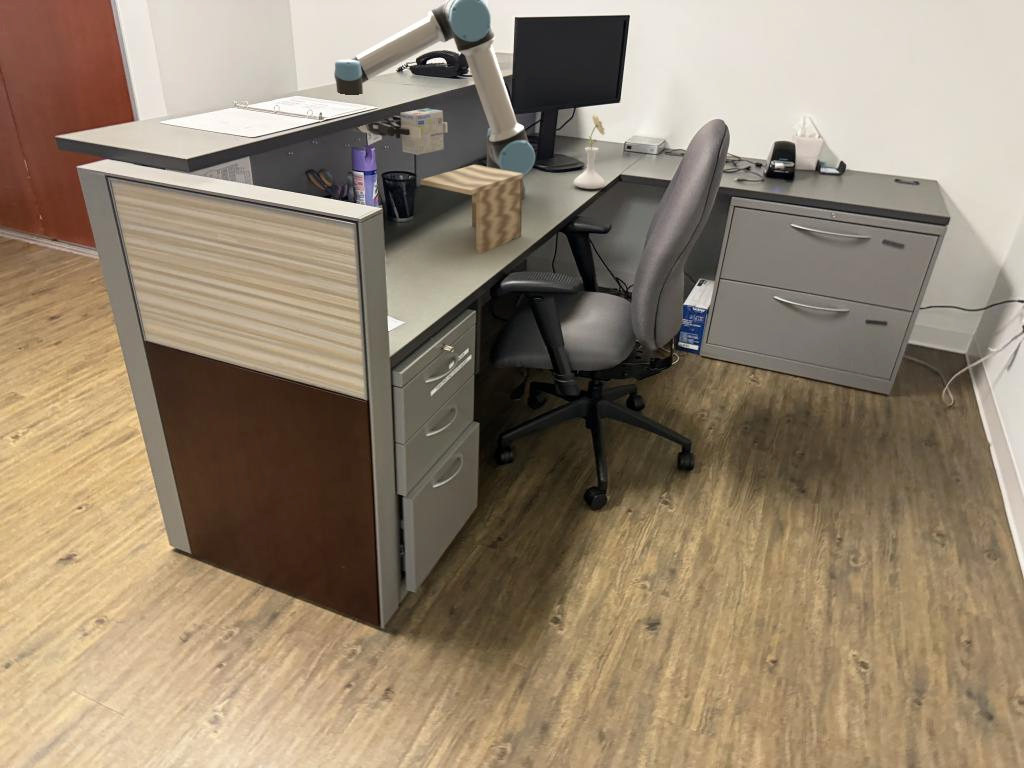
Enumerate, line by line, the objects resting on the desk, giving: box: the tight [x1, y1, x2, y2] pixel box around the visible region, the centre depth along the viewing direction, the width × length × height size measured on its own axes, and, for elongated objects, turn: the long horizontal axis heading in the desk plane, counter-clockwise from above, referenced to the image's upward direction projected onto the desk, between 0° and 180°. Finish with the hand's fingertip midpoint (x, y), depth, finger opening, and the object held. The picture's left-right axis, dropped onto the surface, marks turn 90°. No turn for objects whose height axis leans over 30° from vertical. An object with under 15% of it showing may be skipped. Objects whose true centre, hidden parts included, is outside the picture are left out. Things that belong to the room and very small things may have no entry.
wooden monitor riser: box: [419, 164, 524, 254], centre depth 212 cm, size 24×17×18 cm
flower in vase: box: [573, 113, 606, 190], centre depth 268 cm, size 13×11×25 cm
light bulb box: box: [400, 108, 445, 156], centre depth 212 cm, size 11×7×11 cm, turn 141°
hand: (433, 130), depth 209 cm, fingers closed on light bulb box, 11 cm apart
